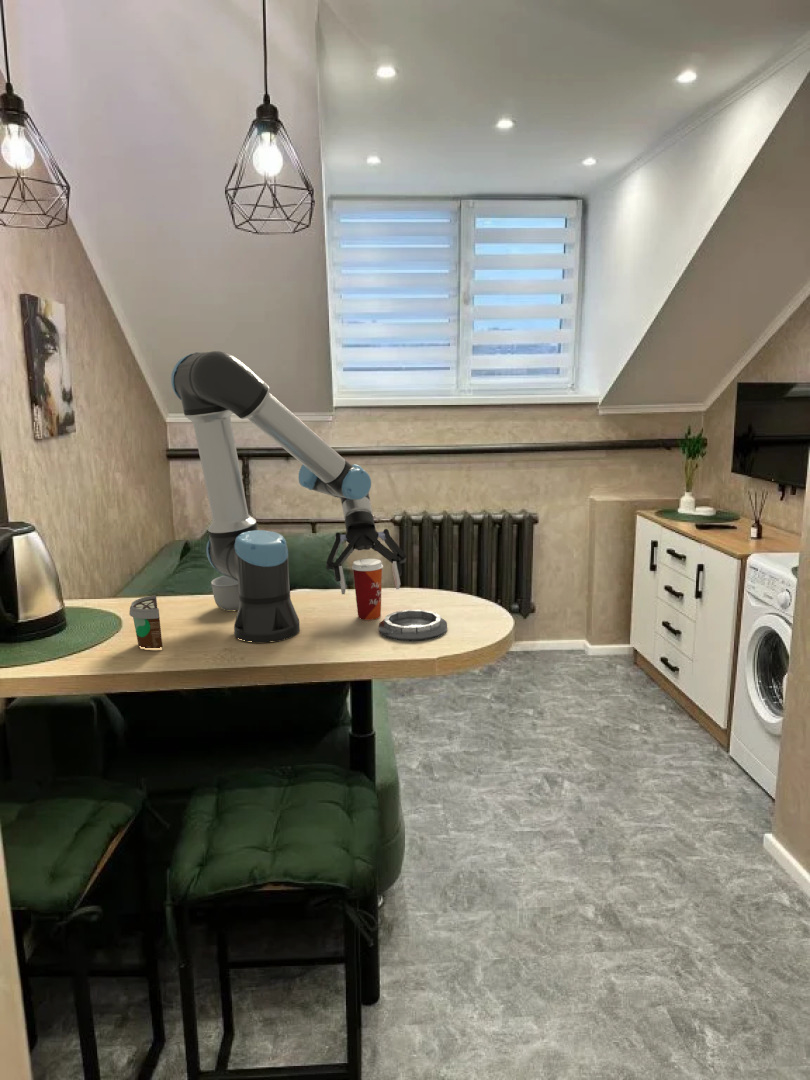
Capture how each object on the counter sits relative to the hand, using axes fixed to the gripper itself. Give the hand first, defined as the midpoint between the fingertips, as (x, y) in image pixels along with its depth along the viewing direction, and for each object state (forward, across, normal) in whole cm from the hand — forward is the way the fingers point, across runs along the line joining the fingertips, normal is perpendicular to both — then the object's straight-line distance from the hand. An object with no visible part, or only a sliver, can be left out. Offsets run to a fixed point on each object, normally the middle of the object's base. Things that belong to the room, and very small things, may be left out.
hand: (371, 589), depth 184 cm
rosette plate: (+14, -8, +4) cm, 16 cm away
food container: (+8, +53, -2) cm, 53 cm away
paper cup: (+5, +1, -6) cm, 7 cm away
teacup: (-9, +33, -20) cm, 39 cm away
